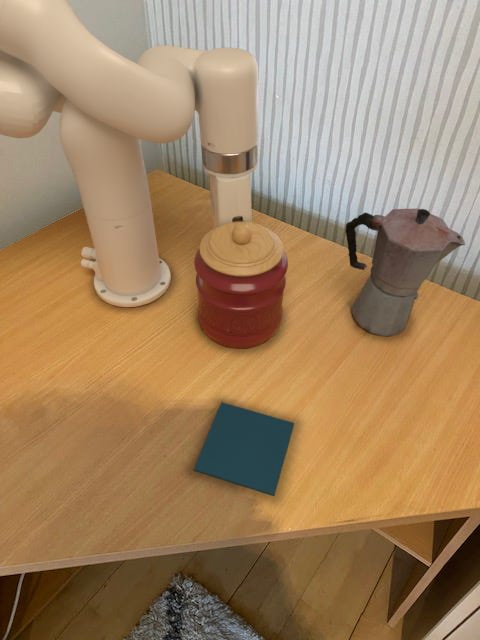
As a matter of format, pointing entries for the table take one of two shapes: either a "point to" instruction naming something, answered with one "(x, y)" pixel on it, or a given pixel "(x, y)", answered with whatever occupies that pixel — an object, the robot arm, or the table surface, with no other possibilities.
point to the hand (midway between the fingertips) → (233, 259)
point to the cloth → (245, 448)
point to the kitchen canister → (240, 284)
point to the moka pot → (397, 265)
